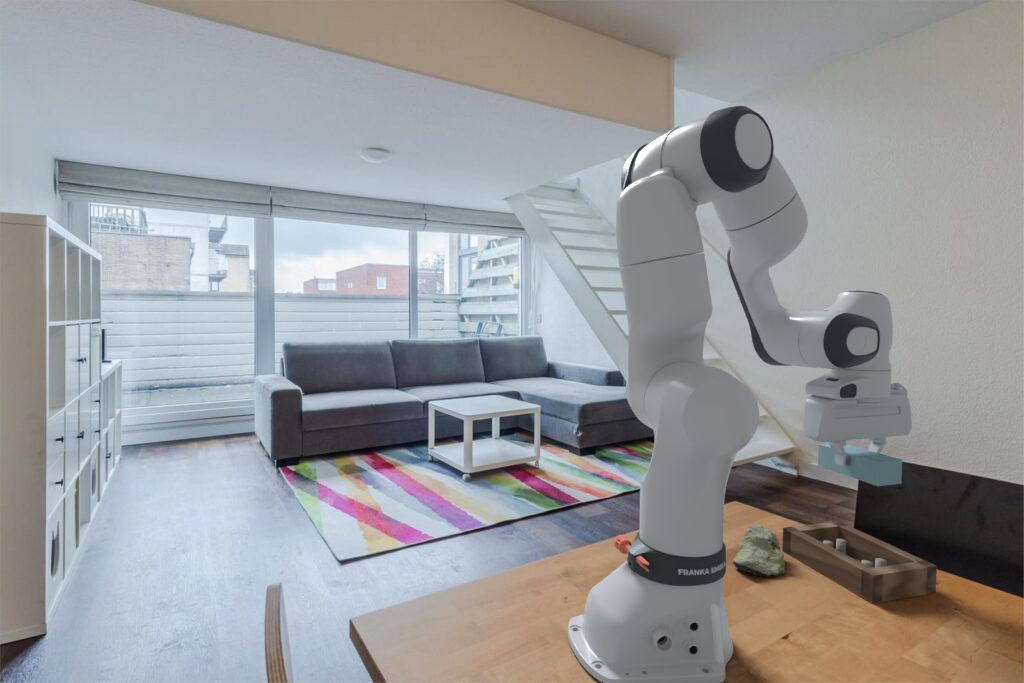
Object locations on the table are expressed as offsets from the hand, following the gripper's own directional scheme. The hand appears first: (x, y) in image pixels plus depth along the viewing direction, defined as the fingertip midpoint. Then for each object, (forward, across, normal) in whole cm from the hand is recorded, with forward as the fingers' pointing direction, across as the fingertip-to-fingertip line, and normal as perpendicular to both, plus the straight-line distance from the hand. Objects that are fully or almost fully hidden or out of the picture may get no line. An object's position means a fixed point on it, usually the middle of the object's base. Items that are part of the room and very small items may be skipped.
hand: (857, 463), depth 93 cm
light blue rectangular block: (+2, 0, 0) cm, 2 cm away
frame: (+19, 0, 0) cm, 19 cm away
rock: (+20, +15, -6) cm, 25 cm away
